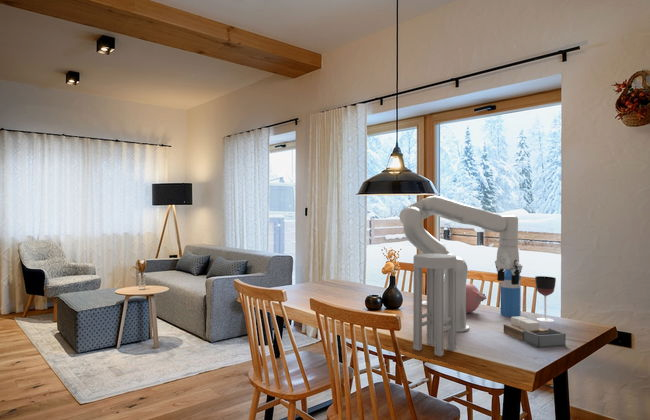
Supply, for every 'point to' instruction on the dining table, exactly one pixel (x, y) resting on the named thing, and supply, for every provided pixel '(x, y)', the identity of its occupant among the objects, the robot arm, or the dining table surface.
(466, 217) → the robot arm
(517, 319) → the tile rear
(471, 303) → the pomegranate
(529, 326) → the tile front
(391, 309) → the dining table surface
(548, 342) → the tray
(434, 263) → the stool
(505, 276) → the water bottle
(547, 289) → the wineglass
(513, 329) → the board
